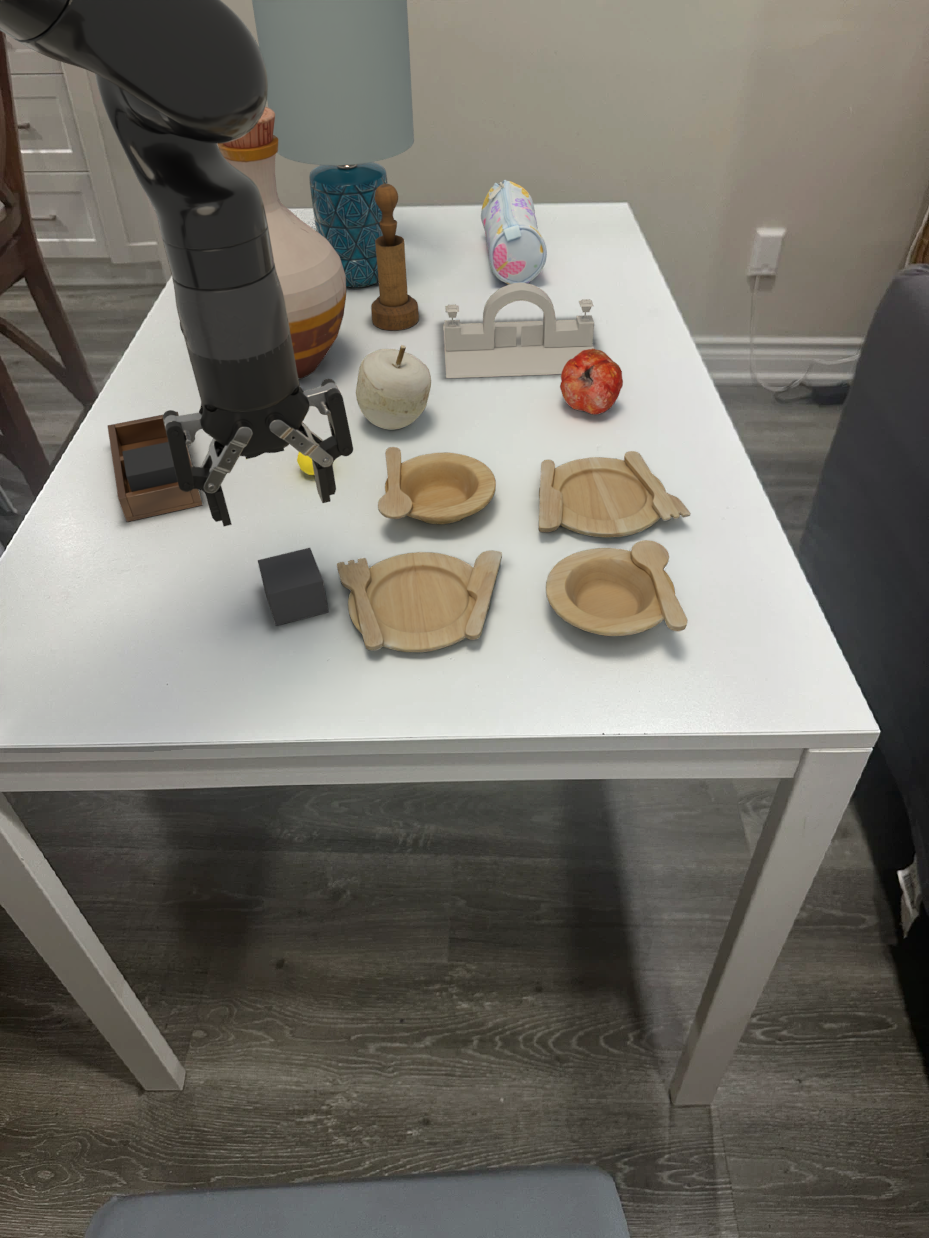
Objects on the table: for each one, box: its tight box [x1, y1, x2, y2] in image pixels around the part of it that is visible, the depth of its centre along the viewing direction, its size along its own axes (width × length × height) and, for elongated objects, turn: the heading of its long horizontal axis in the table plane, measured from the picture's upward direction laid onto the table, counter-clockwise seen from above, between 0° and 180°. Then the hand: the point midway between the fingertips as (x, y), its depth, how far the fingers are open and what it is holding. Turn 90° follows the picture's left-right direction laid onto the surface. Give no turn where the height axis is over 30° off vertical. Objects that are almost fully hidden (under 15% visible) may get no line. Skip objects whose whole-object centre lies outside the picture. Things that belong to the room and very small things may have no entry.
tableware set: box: [336, 446, 692, 653], centre depth 85 cm, size 35×29×4 cm
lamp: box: [251, 0, 415, 288], centre depth 120 cm, size 19×19×38 cm
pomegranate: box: [559, 348, 624, 415], centre depth 103 cm, size 7×7×10 cm
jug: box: [217, 106, 347, 380], centre depth 103 cm, size 20×18×30 cm
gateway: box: [442, 282, 595, 352], centre depth 114 cm, size 20×2×8 cm, turn 93°
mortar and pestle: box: [370, 183, 420, 331], centre depth 117 cm, size 7×6×18 cm
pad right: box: [257, 547, 329, 627], centre depth 80 cm, size 5×5×4 cm
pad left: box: [122, 442, 178, 492], centre depth 93 cm, size 5×5×4 cm
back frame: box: [107, 411, 203, 523], centre depth 96 cm, size 8×15×3 cm, turn 21°
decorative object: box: [355, 344, 432, 431], centre depth 100 cm, size 9×9×10 cm
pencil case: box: [480, 179, 548, 285], centre depth 133 cm, size 21×9×10 cm, turn 3°
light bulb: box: [296, 451, 315, 476], centre depth 97 cm, size 3×6×4 cm, turn 1°
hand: (276, 508), depth 74 cm, fingers open, 8 cm apart
